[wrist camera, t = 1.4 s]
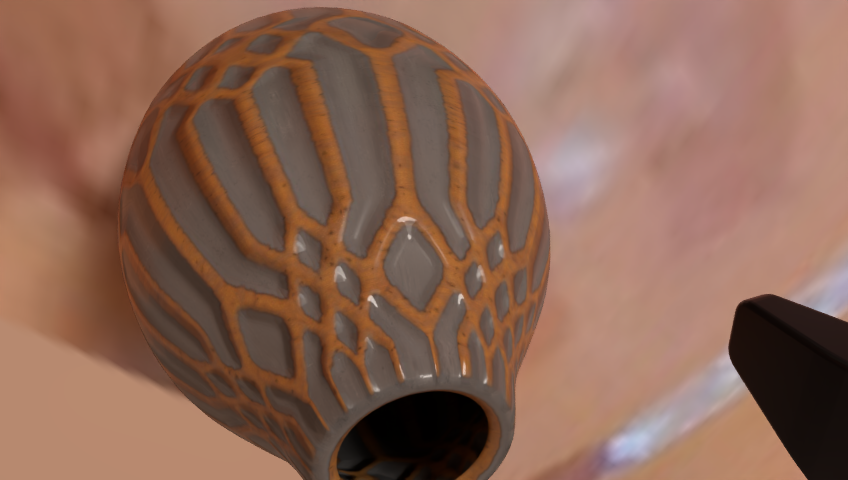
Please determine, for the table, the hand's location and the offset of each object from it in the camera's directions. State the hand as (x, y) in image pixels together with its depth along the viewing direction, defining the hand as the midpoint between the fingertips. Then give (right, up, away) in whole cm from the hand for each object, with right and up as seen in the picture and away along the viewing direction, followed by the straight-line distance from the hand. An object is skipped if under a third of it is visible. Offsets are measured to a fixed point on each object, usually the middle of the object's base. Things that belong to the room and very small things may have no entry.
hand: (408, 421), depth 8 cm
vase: (-2, +4, +7) cm, 8 cm away
